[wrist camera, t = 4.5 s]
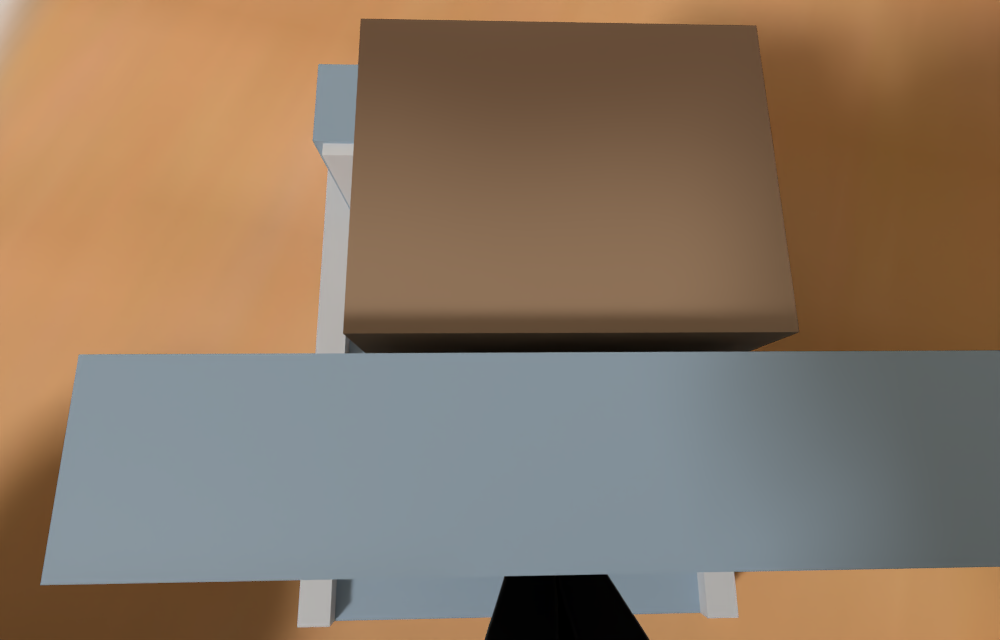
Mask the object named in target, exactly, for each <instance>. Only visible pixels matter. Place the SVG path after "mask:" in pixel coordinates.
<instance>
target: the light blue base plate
mask: <svg viewBox="0 0 1000 640" xmlns="http://www.w3.org/2000/svg"><path fill="white" fill-rule="evenodd" d="M349 219H350V209H349V207H348V205H347V204H346V202H345V200H344V198H343V196H342V194H341V192H340V191H339V189H338V187H337V185H336V183H335V181H334V179H333V178H332V176H331V174H330V172H329V170H328V177H327V192H326V207H325V221H324V236H323V251H322V266H321V281H320V296H319V311H318V325H317V340H316V354H322V353H365V352H364V351H362V350H361V349H360V348H359V347H358V346H357V345H356V344H354V343H353V342H352V341H351V340H350V339H349V338H348V337H346V336H345V335H344V334H343V324H344V306H345V289H346V271H347V254H348V236H349ZM608 576H609V577H610V579H611V580H612V582H613V584H614V585H615V587H616V588H617V590H618V591H619V593H620V594H621V596H622V598H623V599H624V601H625V602H626V604H627V605H628V607H629V608H630V610H631V612H632V613H633V614H662V613H701V614H703V615H704V616H706V617H707V618H738V607H737V597H736V587H735V577H734V572H695V573H644V574H608ZM503 579H504V576H489V577H437V578H385V579H333V580H300V593H299V608H298V622H297V627H330V626H331V624H332V623H333V622H334V621H345V620H390V619H435V618H481V617H492V614H493V611H494V608H495V605H496V602H497V598H498V595H499V592H500V589H501V585H502V582H503Z"/></svg>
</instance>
